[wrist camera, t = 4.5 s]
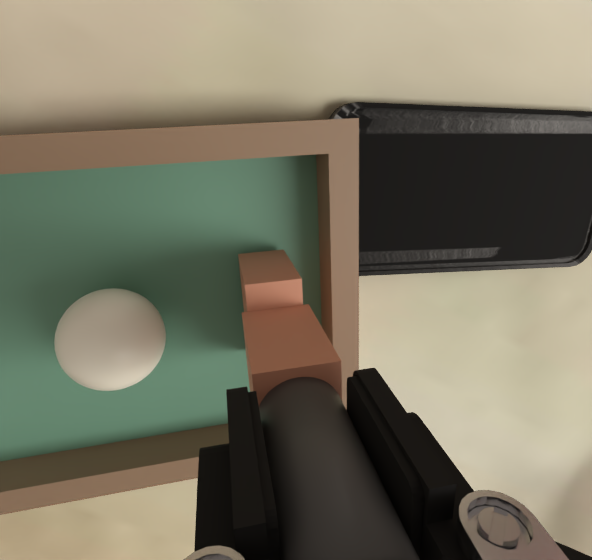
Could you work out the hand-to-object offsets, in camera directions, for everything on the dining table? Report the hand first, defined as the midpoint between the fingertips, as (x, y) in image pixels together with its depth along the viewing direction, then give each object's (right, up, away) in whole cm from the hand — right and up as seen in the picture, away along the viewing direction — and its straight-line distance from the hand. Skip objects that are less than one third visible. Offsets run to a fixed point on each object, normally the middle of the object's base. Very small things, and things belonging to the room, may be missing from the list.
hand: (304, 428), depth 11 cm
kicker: (-2, +3, +8) cm, 9 cm away
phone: (+8, +8, +10) cm, 16 cm away
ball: (-7, +2, +5) cm, 9 cm away
